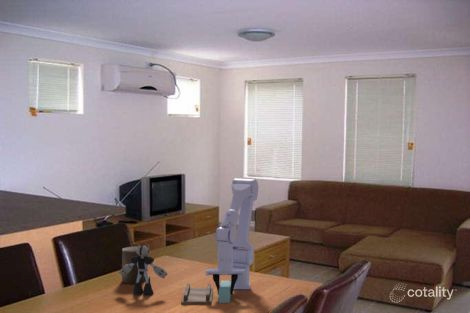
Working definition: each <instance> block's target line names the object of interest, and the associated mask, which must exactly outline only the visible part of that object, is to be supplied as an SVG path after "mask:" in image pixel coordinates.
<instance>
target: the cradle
mask: <svg viewBox="0 0 470 313" xmlns="http://www.w3.org/2000/svg"><path fill="white" fill-rule="evenodd" d="M213 291H214V288H213V287H212V284H211V283H207V287H191V283H186V286H185V288H184V291H183V294H182V298H181V301H180V305H212V300H213Z"/></svg>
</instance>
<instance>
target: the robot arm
mask: <svg viewBox="0 0 470 313" xmlns="http://www.w3.org/2000/svg"><path fill="white" fill-rule="evenodd" d="M231 192H232V198H231V201H230V206H229V209H228V210H226V211H225V213H224V215H223V218H222V220H221V224H220V226H219V227H217V228H216V230H215V234H214V238H215V242H216V247H217V268H207V269H206V270H205V276H212V280H213V282H214V284H215V286H216V289H217V290H216V292H217V295H218V296H219V287H220V281H221V280H220V279H221V278H220V277H221V276H230V278H231V280H230V281H231V296H233V294H234V293H233V292H234V290H251V281H250V267H251V265H252V264H253V263H254V261H255V260H254V259H255V247H254V246H253V244H252V243H250V242H249V238H250V230H251V223H252V222H251V221H252V213H253V206H254V202H255V201H257V198H258V193H259V182H258V180H257V179H255V178H252V179H251V178H250V179H249V178H237V177H234V179H233V180H232V182H231ZM236 228H237V229H236Z"/></svg>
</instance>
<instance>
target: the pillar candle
mask: <svg viewBox="0 0 470 313" xmlns="http://www.w3.org/2000/svg"><path fill="white" fill-rule="evenodd" d="M136 249H138V246H134V245H133V246H127V247H123V248H122V249H121V269H122V268H123V267H124V266H125V265H126V264H131V263H132V262H131V258H132V257H133V256H139V255H138V254H136ZM140 257H141V256H140ZM135 275H136V278H137V276H138V267H137V263H136V264H134V265H133V266H132V269H131V271H130V272H129V273H127V274H126V275H124V276H122V275H121V280H122V281H121V282H122V283H124V284H128V285H135V282H136V279H135ZM141 278H142V279H140V280H141V282H140V283H141V284H142V283H145V280H144V275H142V276H141Z"/></svg>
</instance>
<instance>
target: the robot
mask: <svg viewBox="0 0 470 313" xmlns="http://www.w3.org/2000/svg"><path fill="white" fill-rule="evenodd" d="M140 244H141V243H140V241H138V244H137V247H138V249H136V254H138V255H139V256H133V257H132V258H131V262H132V263H131V264H126V265H125V266H124V267H123V268H122V267H121V269H120V270H119V273H120V275H121V277H122V276H124V275H126V274H127V273H129V272H130V271H131V269H132V266H133V265H134V264H136V263H137V267H138V276H137V278H136V275H135V279H136V282H135V284H133V285H134V286H133V290H132V291H133V292H132V293H133V295H135V296H139V295H143V296H144V297H145V296H146V297H147V296H152V295H154V290H153V287H152V284H151V276H149V274H148V271H149V270H148V269H149V268H148V266H151V267H152V269H153V271H154V273H155V274H156V275H157V276H158V277H160V278H161V279H165V277H167V275H168V272H167V271H166V270H165V269H164V268H163V267H162V266H160V265H155V264H153V263H154V261H155V258H153V257H151V256H149V254H150V242H148V243H147V245H145V244H142V245H140ZM140 256H141V257H140ZM142 275H144V280H145V281H144V287H143V285H142V283H140V282H141V280H140V279H142V278H141V276H142Z"/></svg>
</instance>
